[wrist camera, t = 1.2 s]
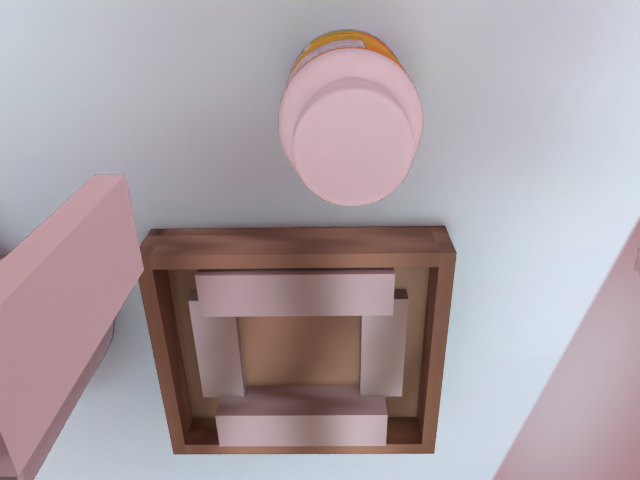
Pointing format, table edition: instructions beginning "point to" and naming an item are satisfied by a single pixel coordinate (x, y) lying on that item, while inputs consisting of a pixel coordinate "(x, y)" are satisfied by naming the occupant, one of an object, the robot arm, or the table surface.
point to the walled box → (299, 337)
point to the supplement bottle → (350, 118)
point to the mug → (64, 411)
